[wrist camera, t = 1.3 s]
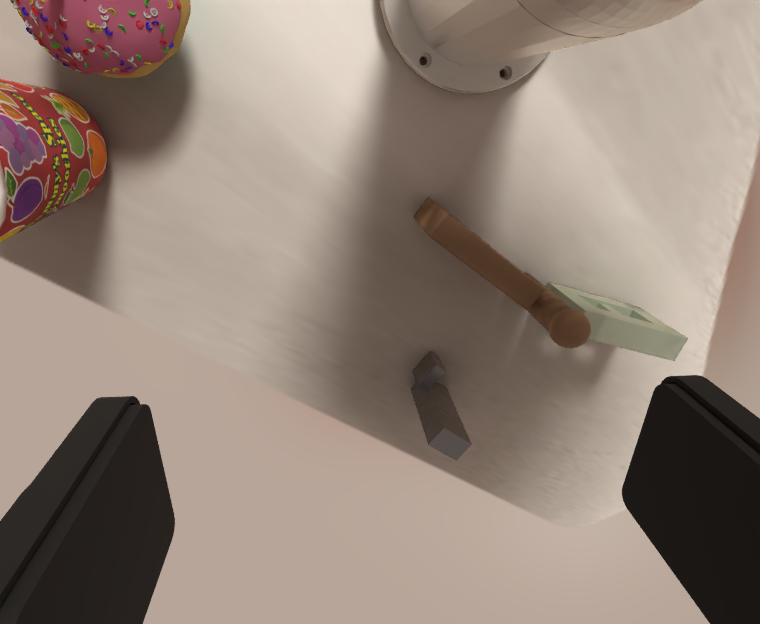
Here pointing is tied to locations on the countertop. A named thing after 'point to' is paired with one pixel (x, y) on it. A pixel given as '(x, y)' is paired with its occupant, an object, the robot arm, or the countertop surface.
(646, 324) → the pale green flat block
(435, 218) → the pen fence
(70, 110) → the smoothie
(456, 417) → the latch post
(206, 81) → the countertop surface
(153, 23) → the cupcake
